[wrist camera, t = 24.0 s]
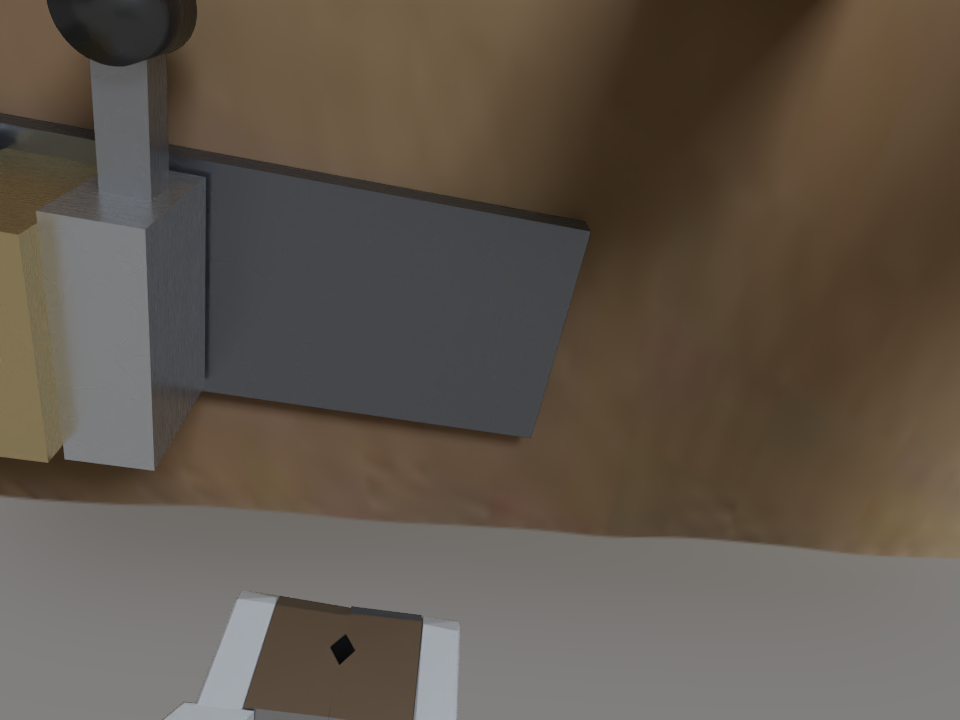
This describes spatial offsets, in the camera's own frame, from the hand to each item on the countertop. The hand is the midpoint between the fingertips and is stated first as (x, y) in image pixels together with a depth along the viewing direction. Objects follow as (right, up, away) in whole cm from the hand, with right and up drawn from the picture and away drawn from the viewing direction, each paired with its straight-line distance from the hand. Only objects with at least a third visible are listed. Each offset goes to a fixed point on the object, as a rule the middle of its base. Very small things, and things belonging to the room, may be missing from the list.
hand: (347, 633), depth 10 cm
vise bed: (-7, +7, +19) cm, 22 cm away
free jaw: (-10, +10, +16) cm, 21 cm away
